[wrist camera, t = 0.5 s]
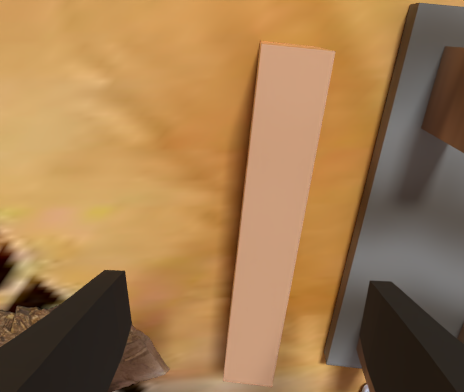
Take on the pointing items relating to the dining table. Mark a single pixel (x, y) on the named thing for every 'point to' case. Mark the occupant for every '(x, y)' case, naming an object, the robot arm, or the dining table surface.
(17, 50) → the dining table surface
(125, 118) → the dining table surface
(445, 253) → the grey panel
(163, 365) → the wooden fragment
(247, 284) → the clay strip
